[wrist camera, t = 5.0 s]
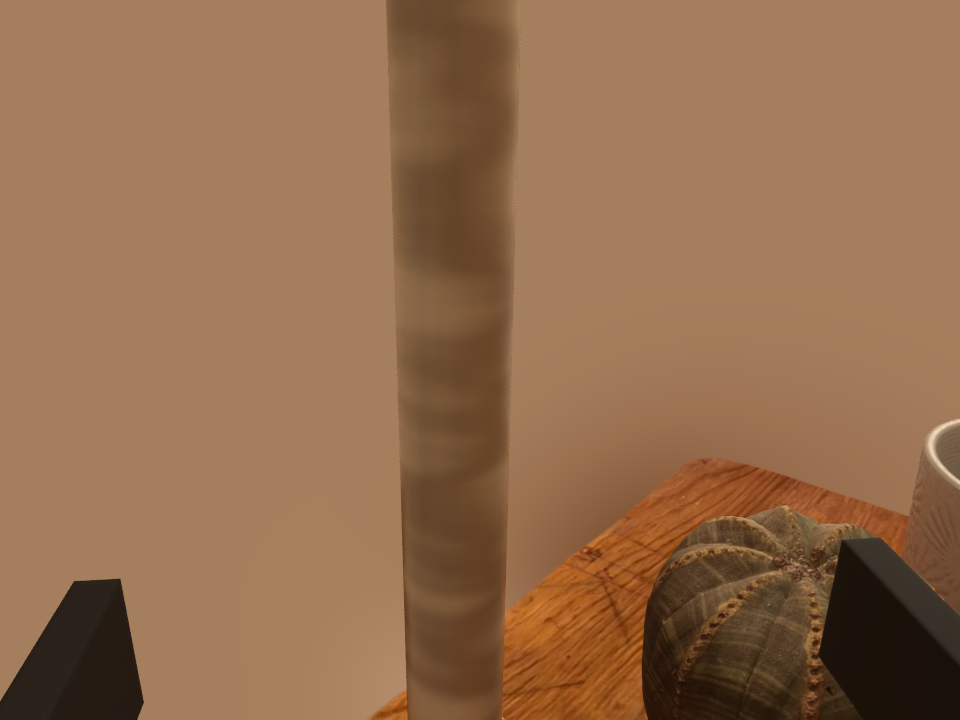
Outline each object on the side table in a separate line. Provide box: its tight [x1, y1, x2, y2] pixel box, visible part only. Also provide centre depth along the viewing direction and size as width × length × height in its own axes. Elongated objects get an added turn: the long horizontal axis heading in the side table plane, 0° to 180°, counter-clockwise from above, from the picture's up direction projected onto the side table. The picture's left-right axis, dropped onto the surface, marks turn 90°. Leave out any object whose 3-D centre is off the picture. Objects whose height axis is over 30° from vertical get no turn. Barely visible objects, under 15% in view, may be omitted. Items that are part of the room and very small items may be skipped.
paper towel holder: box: [386, 0, 521, 720], centre depth 24 cm, size 6×5×30 cm
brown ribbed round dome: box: [642, 506, 945, 720], centre depth 29 cm, size 11×11×12 cm
